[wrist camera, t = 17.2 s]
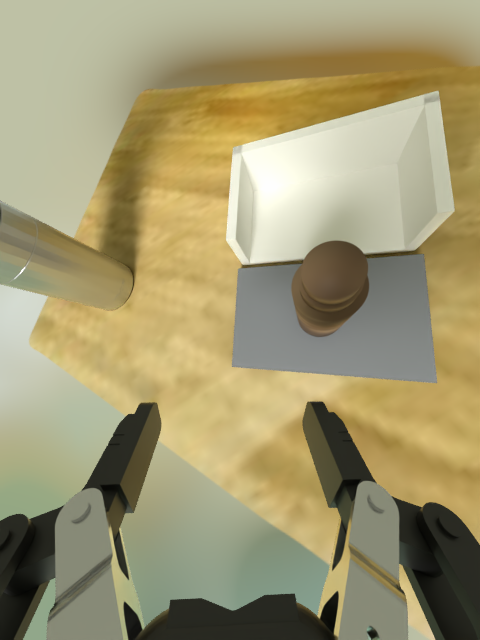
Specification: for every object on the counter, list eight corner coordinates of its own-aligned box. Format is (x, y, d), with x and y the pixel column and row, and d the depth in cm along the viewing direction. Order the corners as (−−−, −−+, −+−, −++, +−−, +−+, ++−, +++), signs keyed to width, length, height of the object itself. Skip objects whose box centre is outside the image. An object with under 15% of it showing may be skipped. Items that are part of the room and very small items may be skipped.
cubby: (243, 265, 31) (226, 240, 24) (247, 189, 33) (233, 147, 27) (414, 250, 24) (454, 210, 18) (405, 157, 26) (438, 90, 20)
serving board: (234, 366, 28) (232, 366, 27) (240, 272, 31) (238, 268, 30) (430, 381, 22) (437, 383, 20) (418, 258, 24) (423, 253, 23)
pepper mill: (291, 328, 26) (275, 296, 13) (306, 290, 26) (305, 221, 13) (333, 343, 24) (366, 325, 11) (349, 303, 24) (398, 237, 11)
